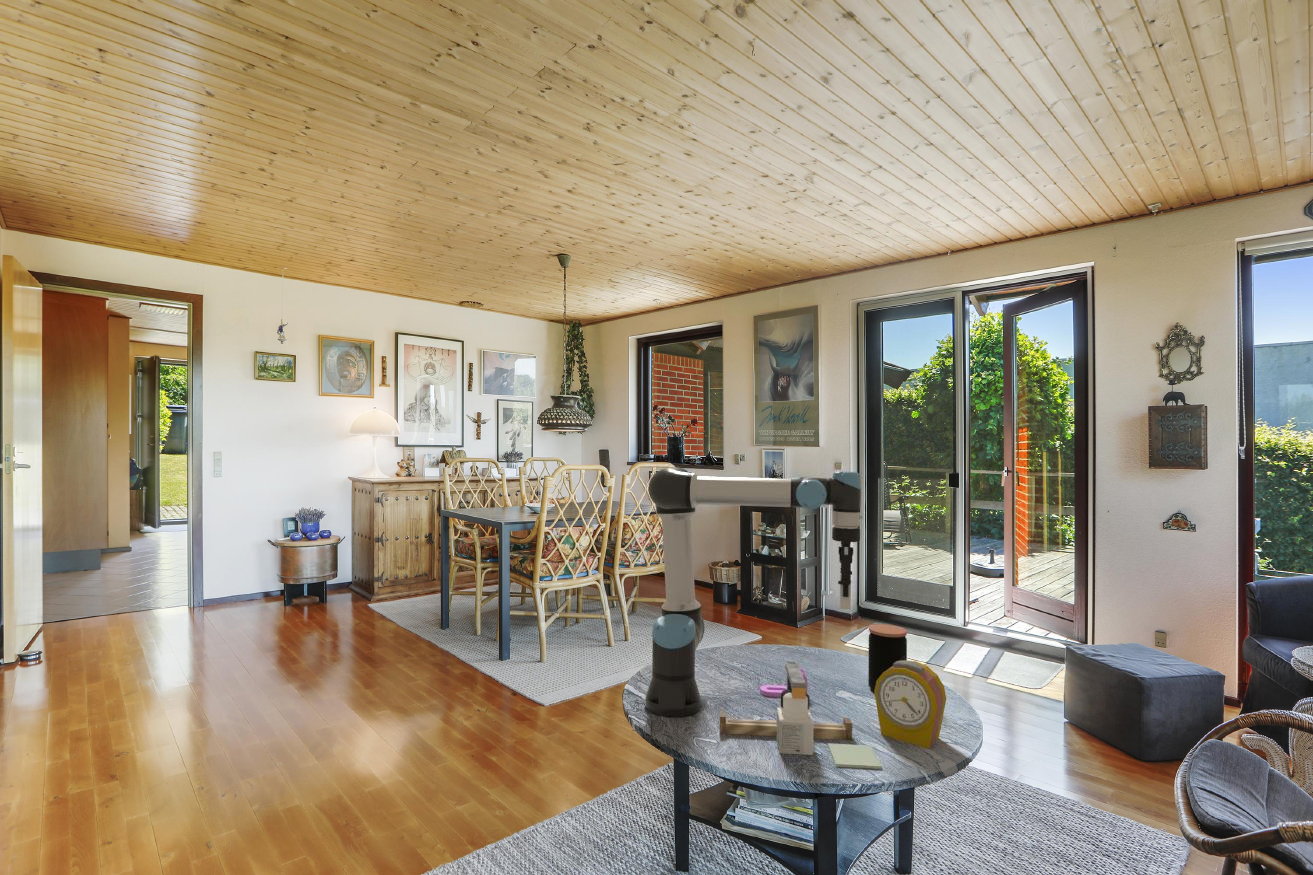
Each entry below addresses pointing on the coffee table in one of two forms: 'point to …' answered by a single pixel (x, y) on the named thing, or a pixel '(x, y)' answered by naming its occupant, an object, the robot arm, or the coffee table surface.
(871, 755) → the pad
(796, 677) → the grey l-shaped beam
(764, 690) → the bracket
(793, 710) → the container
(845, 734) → the rail
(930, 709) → the alarm clock
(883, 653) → the coffee jar
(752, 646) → the coffee table surface
